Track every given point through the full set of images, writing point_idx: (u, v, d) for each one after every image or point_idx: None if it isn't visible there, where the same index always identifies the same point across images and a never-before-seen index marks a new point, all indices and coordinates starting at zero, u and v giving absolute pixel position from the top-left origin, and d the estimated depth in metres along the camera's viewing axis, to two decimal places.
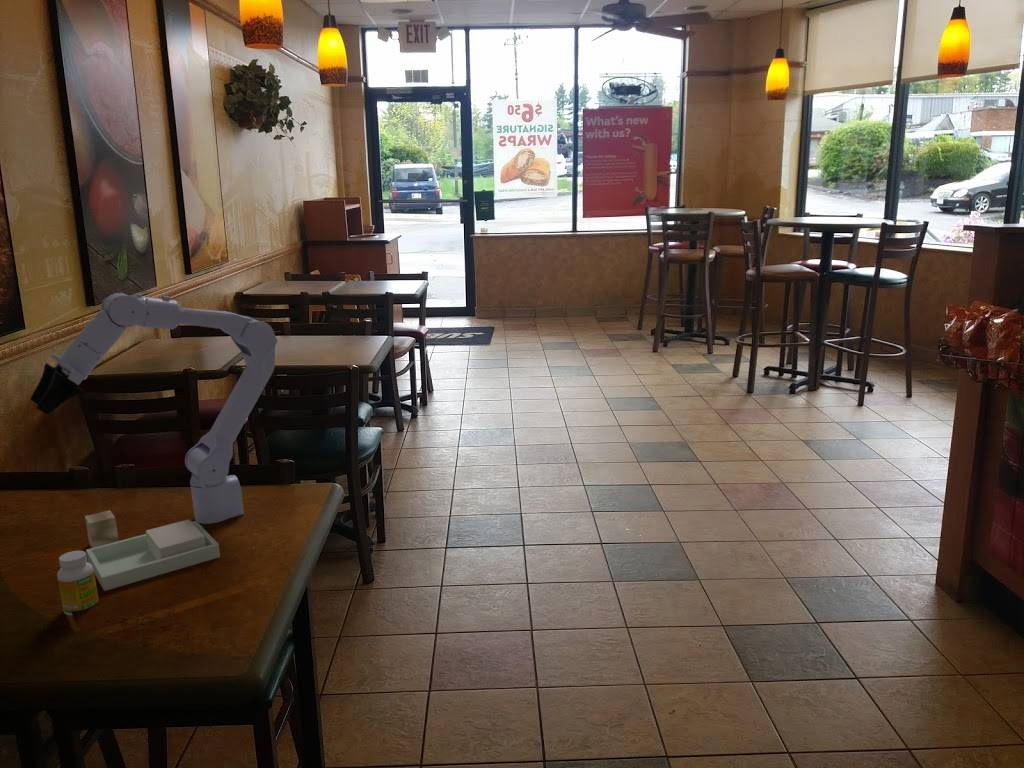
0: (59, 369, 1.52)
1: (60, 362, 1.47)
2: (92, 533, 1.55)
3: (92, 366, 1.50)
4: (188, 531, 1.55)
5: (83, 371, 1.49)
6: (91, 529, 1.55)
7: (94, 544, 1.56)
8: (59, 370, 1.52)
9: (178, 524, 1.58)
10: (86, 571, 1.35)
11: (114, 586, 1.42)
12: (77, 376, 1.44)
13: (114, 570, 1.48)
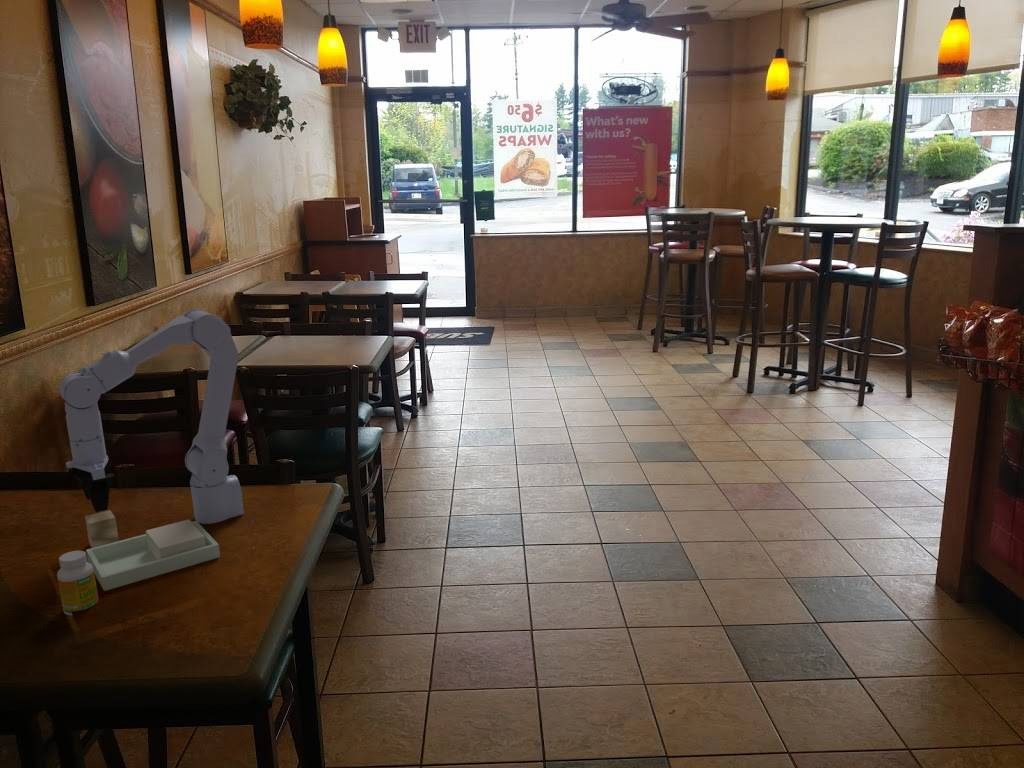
0: None
1: (77, 467, 1.52)
2: (92, 533, 1.55)
3: (102, 449, 1.54)
4: (188, 531, 1.55)
5: (99, 459, 1.53)
6: (91, 529, 1.55)
7: (94, 544, 1.56)
8: None
9: (178, 524, 1.58)
10: (85, 571, 1.35)
11: (114, 586, 1.42)
12: (98, 473, 1.49)
13: (114, 570, 1.48)
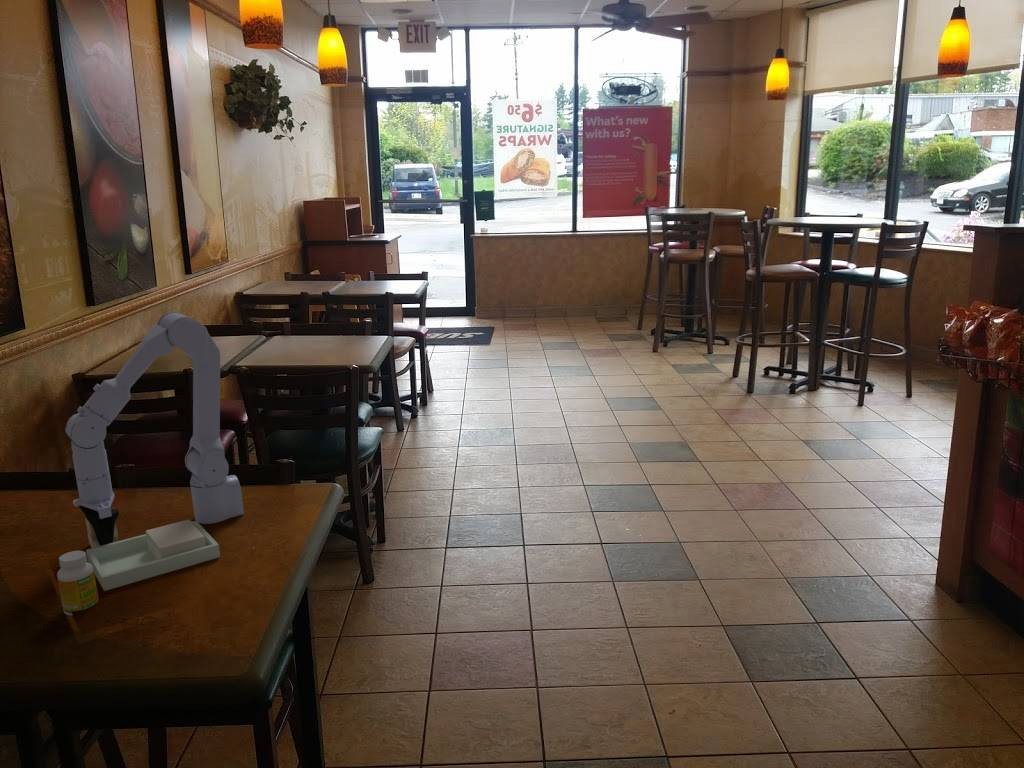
0: None
1: (84, 505, 1.54)
2: (92, 533, 1.55)
3: (108, 487, 1.56)
4: (188, 531, 1.55)
5: (105, 497, 1.55)
6: (91, 529, 1.55)
7: (94, 544, 1.56)
8: None
9: (178, 524, 1.58)
10: (85, 571, 1.35)
11: (114, 586, 1.42)
12: (104, 511, 1.51)
13: (114, 570, 1.48)
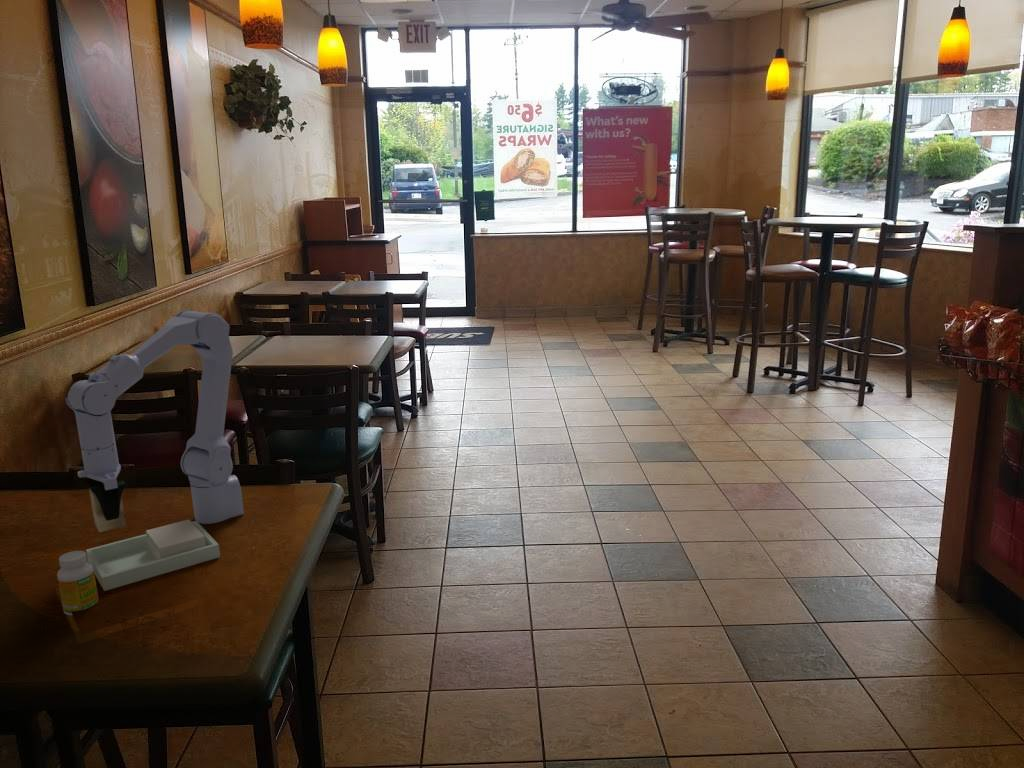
0: None
1: (89, 476, 1.47)
2: (96, 507, 1.48)
3: (114, 458, 1.49)
4: (188, 531, 1.55)
5: (111, 468, 1.48)
6: (95, 502, 1.48)
7: (98, 518, 1.49)
8: None
9: (178, 524, 1.58)
10: (85, 571, 1.35)
11: (114, 586, 1.42)
12: (110, 483, 1.44)
13: (114, 570, 1.48)
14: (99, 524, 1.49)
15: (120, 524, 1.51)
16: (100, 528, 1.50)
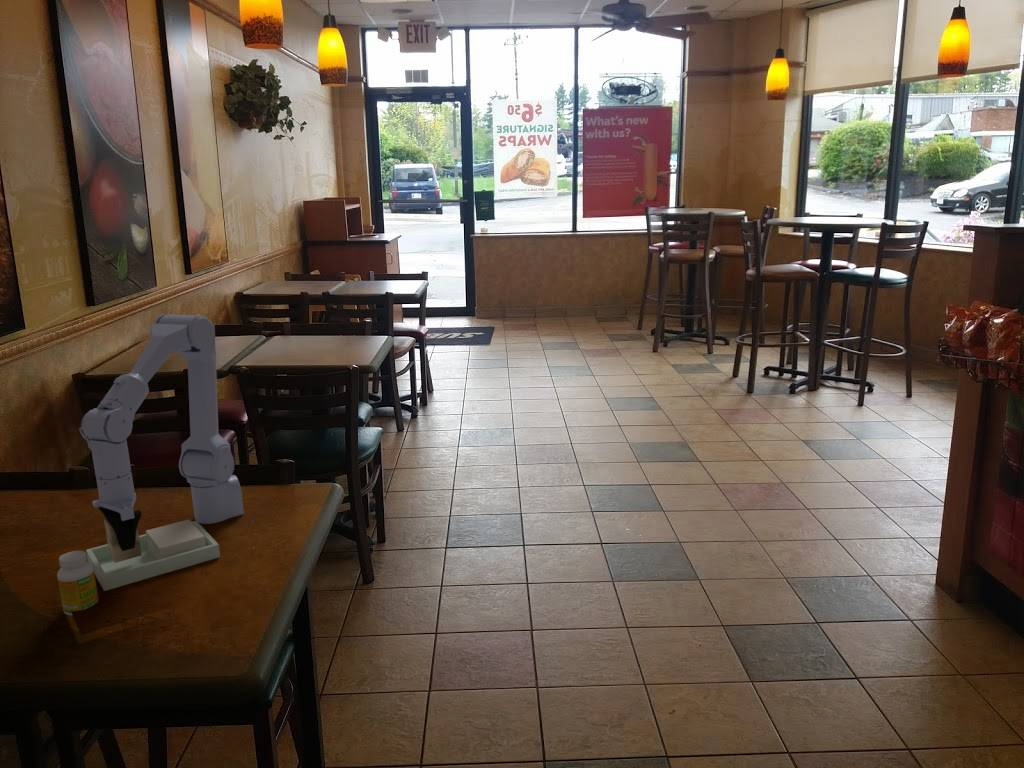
0: None
1: (104, 506, 1.44)
2: (112, 537, 1.45)
3: (130, 487, 1.46)
4: (188, 531, 1.55)
5: (127, 497, 1.45)
6: (111, 533, 1.45)
7: (114, 549, 1.46)
8: None
9: (178, 524, 1.58)
10: (85, 571, 1.35)
11: (114, 586, 1.42)
12: (126, 513, 1.41)
13: (114, 570, 1.48)
14: (114, 555, 1.46)
15: (136, 554, 1.48)
16: (115, 559, 1.46)
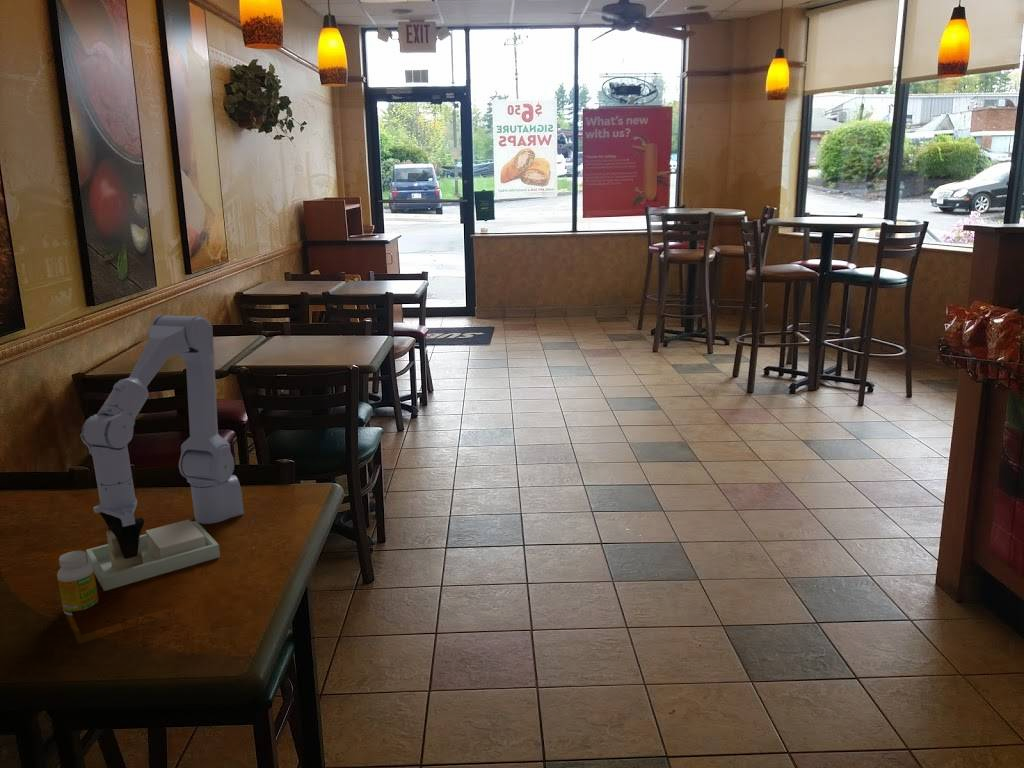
0: None
1: (105, 512, 1.44)
2: (114, 549, 1.46)
3: (131, 492, 1.46)
4: (188, 531, 1.55)
5: (128, 503, 1.45)
6: (113, 545, 1.45)
7: (116, 561, 1.46)
8: None
9: (178, 524, 1.58)
10: (85, 571, 1.35)
11: (114, 586, 1.42)
12: (127, 519, 1.41)
13: None
14: (117, 567, 1.46)
15: None
16: None
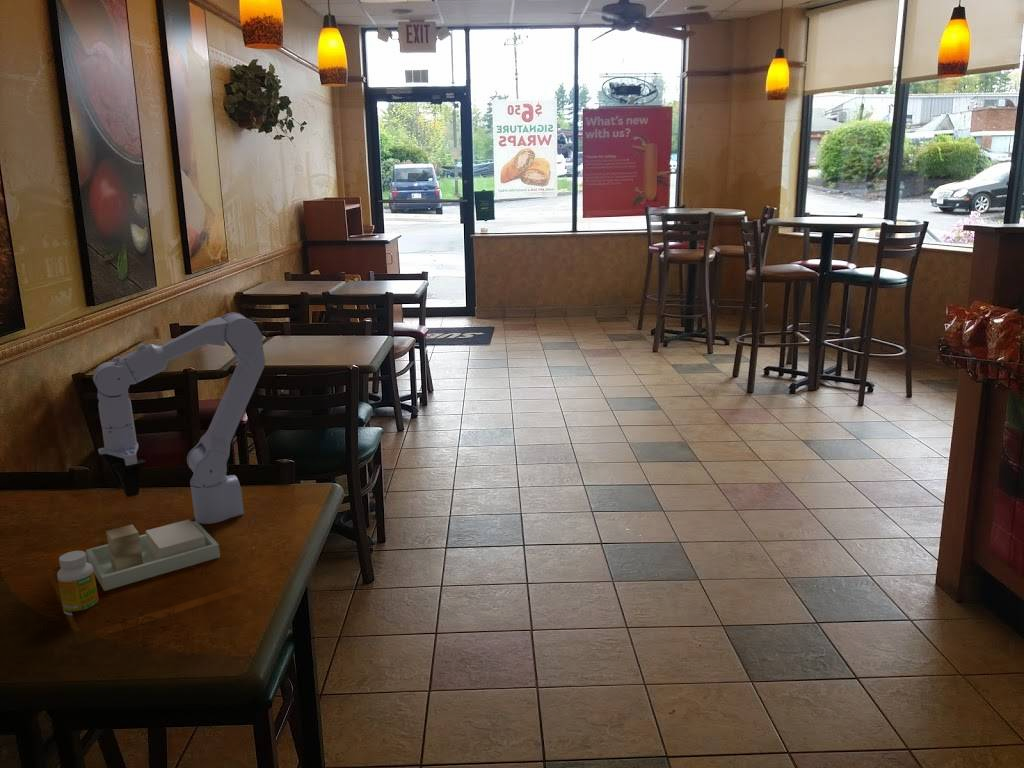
0: None
1: (109, 453, 1.56)
2: (114, 549, 1.46)
3: (133, 436, 1.58)
4: (188, 531, 1.55)
5: (130, 445, 1.58)
6: (113, 545, 1.45)
7: (116, 561, 1.46)
8: None
9: (178, 524, 1.58)
10: (85, 571, 1.35)
11: (114, 586, 1.42)
12: (130, 458, 1.54)
13: None
14: (117, 567, 1.46)
15: None
16: None
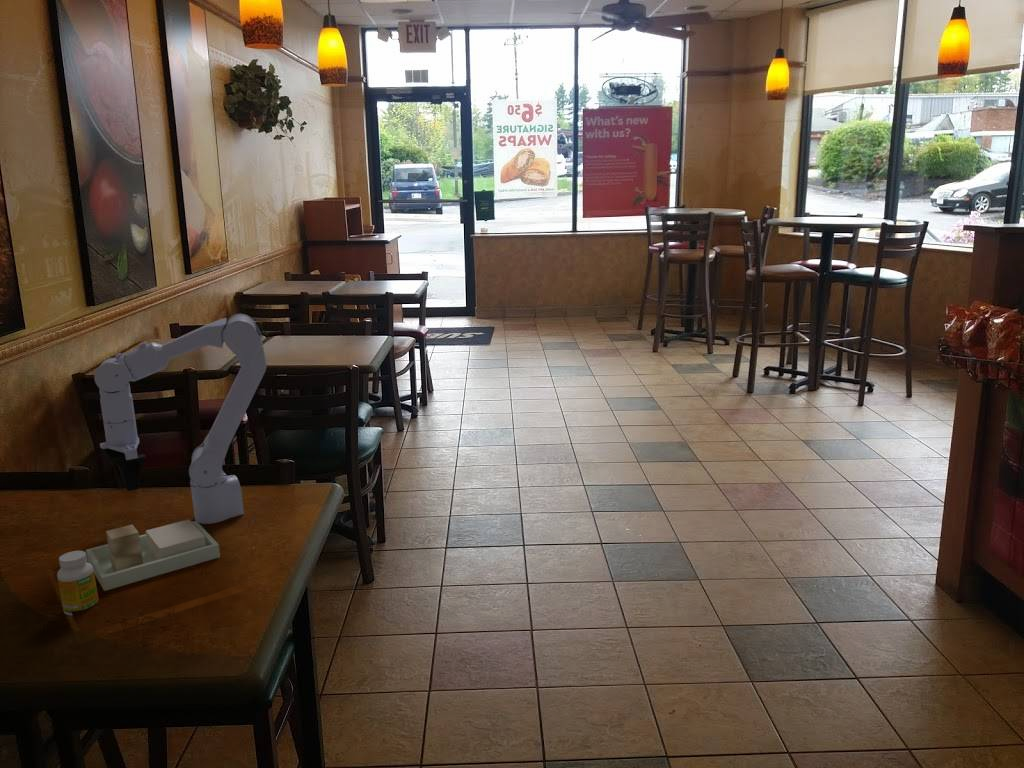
0: None
1: (110, 448, 1.59)
2: (114, 549, 1.46)
3: (134, 431, 1.61)
4: (188, 531, 1.55)
5: (131, 440, 1.61)
6: (113, 545, 1.45)
7: (116, 561, 1.46)
8: None
9: (178, 524, 1.58)
10: (85, 571, 1.35)
11: (114, 586, 1.42)
12: (131, 453, 1.57)
13: None
14: (117, 567, 1.46)
15: None
16: None
